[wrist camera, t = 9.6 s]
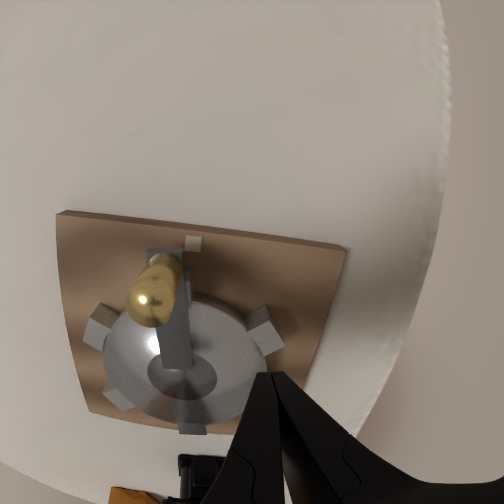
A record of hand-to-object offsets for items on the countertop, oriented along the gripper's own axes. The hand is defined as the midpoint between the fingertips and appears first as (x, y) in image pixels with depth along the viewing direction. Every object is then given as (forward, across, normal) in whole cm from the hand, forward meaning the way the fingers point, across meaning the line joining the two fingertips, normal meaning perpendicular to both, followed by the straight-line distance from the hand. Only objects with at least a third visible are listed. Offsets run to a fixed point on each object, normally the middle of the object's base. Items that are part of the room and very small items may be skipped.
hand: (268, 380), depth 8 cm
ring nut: (+10, +4, +8) cm, 14 cm away
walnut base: (+12, +4, +8) cm, 15 cm away
